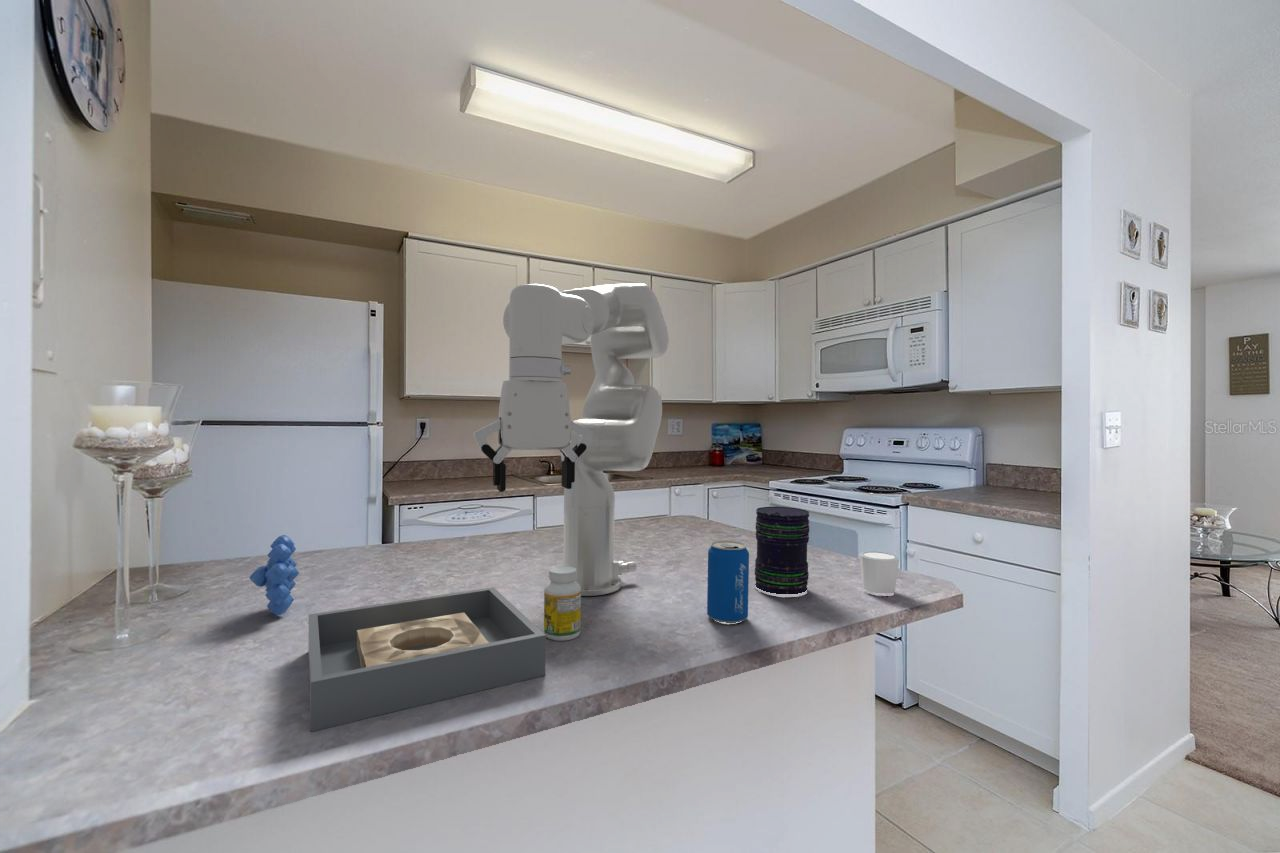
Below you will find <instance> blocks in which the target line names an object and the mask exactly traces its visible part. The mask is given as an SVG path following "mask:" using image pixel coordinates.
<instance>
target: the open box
mask: <svg viewBox="0 0 1280 853" xmlns="http://www.w3.org/2000/svg"><path fill="white" fill-rule="evenodd" d="M463 612H464V613H465V614H466V615H467V617H468V618H469V619H470V620H471V621H472V623H473V624H474V625H475V626H476V627H477V628H478V630H479V631H480V632H481V634H482V635H483V636H484V638H485V639H486V640H487V641H488V642H489V643H486V644H481V645H476V646H471V647H466V648H461V649H456V650H451V651H446V652H441V653H436V654H431V655H426V656H421V657H416V658H411V659H406V660H401V661H396V662H390V663H385V664H380V665H375V666H370V667H365V668H361V666H360V659H359V655H358V651H357V630H361V629H367V628H373V627H379V626H385V625H391V624H397V623H402V622H408V621H414V620H420V619H426V618H433V617H439V616H445V615H451V614H457V613H463ZM546 640H547V637H546V635H545V634H544V631H542V630H541V629H540V628H539V627H537V625H535V624H534V623H533V622H532V621H531V620H530V619H529V618H528V617H527V616H525V614H524V613H523V612H521V611H520V609H518V608H516V606H514V604H512V602H511V601H510V600H508V599H507V598H506V597H505V596H504V595H503V594H502V593H501V592H500V591H498V590H497V589H496V588H495V587H486V588H479V589H474V590H467V591H460V592H453V593H446V594H445V593H444V594H440V595H438V594H437V595H431V596H425V597H424V596H423V597H419V598H412V599H405V600H399V601H397V600H396V601H391V602H385V603H376V604H369V605H365V606H357V607H350V608H344V609H337V610H336V609H335V610H329V611H323V612H315V613H310V614H309V613H308V652H307V653H308V681H309V683H308V684H309V686H308V687H309V719H310V720H309V721H310V724H309V725H310V732H315V731H320V730H323V729H327V728H332V727H337V726H339V725H340V726H341V725H344V724H349V723H353V722H358V721H361V720H365V719H368V718H373V717H378V716H382V715H385V714H389V713H394V712H398V711H403V710H407V709H410V708H411V709H412V708H414V707H419V706H424V705H427V704H432V703H435V702H439V701H444V700H448V699H451V698H457V697H461V696H464V695H469V694H472V693H477V692H481V691H485V690H489V689H493V688H497V687H502V686H506V685H509V684H514V683H519V682H523V681H526V680H527V681H528V680H530V679H536V678H539V677H544V676H546V652H547V651H546V649H547V646H546V644H547V641H546ZM438 646H440V645H421V646H416V647H410V648H407V649H405V650H424V649H429V648H434V647H438ZM543 675H544V676H543Z"/></svg>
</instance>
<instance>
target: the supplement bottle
mask: <svg viewBox="0 0 1280 853" xmlns="http://www.w3.org/2000/svg"><path fill="white" fill-rule="evenodd" d="M548 570H549V571H548V578H549V580H550V581H549V582H548V583H547V584H546V585H545V586H544V590H543V592H544V593H543V594H544V596H543V597H544V598H543V601H544V602H543V606H544V608H543V613H544V614H543V633H544V634H545V635H546V639H549V640H551V641H557V642H558V641H559V642H561V641H564V642H565V641H570V640H574V639H576V638H578V637H579V636H580V635H581V632H582V631H581V630H582V629H581V628H582V621H581V619H582V617H581V615H582V614H581V613H582V612H581V611H582V608H581V607H582V596H581V587H580V585H579V583H577V582H576V581H575V580H576V578H577V570H576V568H574V567H569V566H563V565H562V566H561V565H560V566H553V567H551V568H549V569H548Z"/></svg>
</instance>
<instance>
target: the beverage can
mask: <svg viewBox="0 0 1280 853" xmlns="http://www.w3.org/2000/svg"><path fill="white" fill-rule="evenodd" d="M707 551H708V552H707V591H706V592H707V593H706V594H707V595H706V597H707V601H706V602H707V603H706V614H707V616H708V617H709V618H711V620H712V619H714V620H716V621H719V622H726V623H736V622H740V621H745V620H746V619H748V617H749V616H748V615H749V583H750V581H749V578H750V577H749V574H750V573H749V572H750V565H749V564H750V553H749V551H748V549H747V544H746V543H743V542H740V541H735V540H717V541H712V542H711V543H710V547H709V549H708V550H707Z"/></svg>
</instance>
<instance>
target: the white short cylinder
mask: <svg viewBox="0 0 1280 853" xmlns="http://www.w3.org/2000/svg"><path fill="white" fill-rule="evenodd" d="M899 561H900V558H899V556H897V555H896V554H892V553H888V552H883V551H882V552H881V551H863V552H860V553H859V566H860V579H861V589H862V588H863V589H865V590H867V591H870V592H875V593H893V592H895V593H896V587H897V586H896V585H897V578H898V571H899V570H898V569H899V563H900V562H899Z"/></svg>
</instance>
